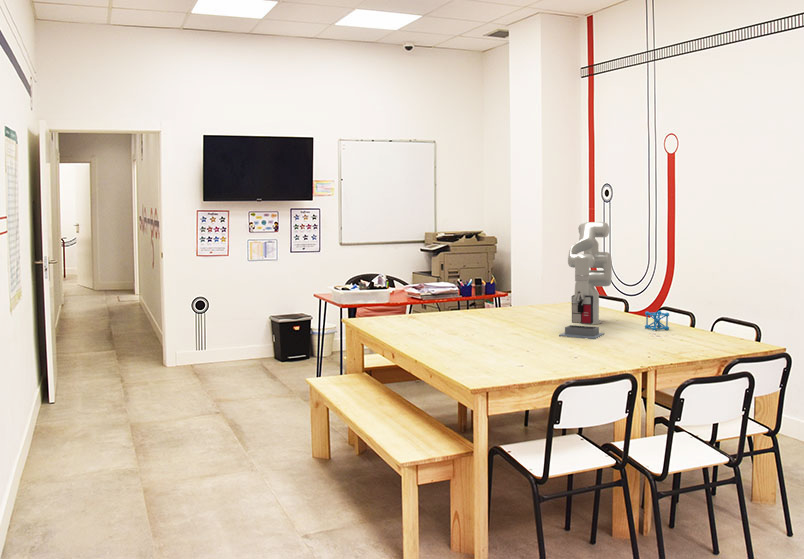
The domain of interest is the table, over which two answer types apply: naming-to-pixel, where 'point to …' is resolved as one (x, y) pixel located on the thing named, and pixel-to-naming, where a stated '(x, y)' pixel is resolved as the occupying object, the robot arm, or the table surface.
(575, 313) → the multicoloured piece
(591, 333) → the desk holder
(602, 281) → the robot arm
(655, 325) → the molecular structure
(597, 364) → the table surface
